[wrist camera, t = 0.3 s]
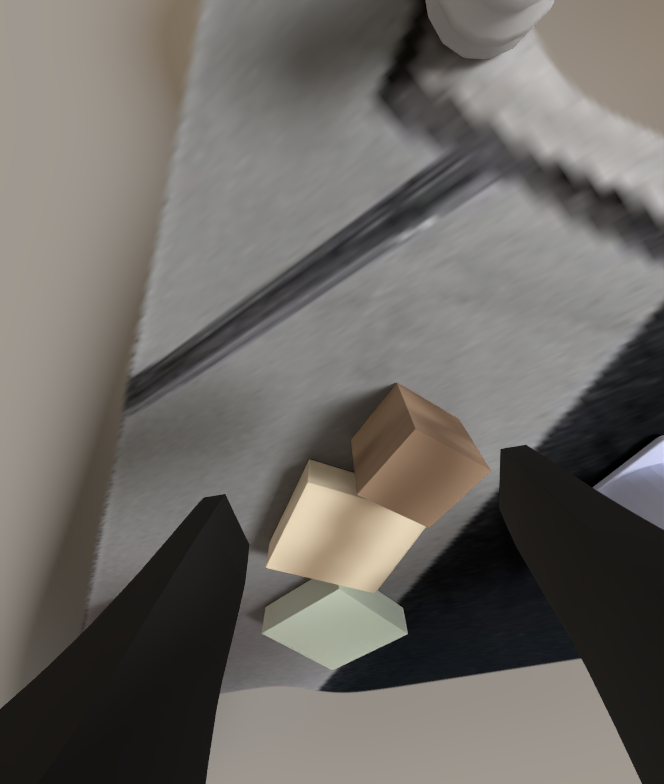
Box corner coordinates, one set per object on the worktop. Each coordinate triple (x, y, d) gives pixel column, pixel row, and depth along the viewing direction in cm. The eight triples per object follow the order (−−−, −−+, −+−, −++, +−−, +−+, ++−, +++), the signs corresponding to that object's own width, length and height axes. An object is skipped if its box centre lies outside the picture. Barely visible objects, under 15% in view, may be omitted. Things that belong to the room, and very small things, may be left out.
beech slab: (423, 494, 23) (432, 518, 21) (371, 567, 26) (374, 593, 25) (309, 459, 21) (307, 482, 20) (269, 541, 25) (265, 567, 23)
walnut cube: (458, 418, 20) (491, 470, 16) (410, 469, 22) (428, 527, 18) (396, 381, 19) (415, 428, 15) (350, 439, 21) (357, 494, 17)
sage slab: (402, 607, 29) (407, 633, 27) (332, 644, 31) (332, 670, 30) (338, 562, 26) (338, 588, 24) (265, 606, 28) (261, 633, 27)
